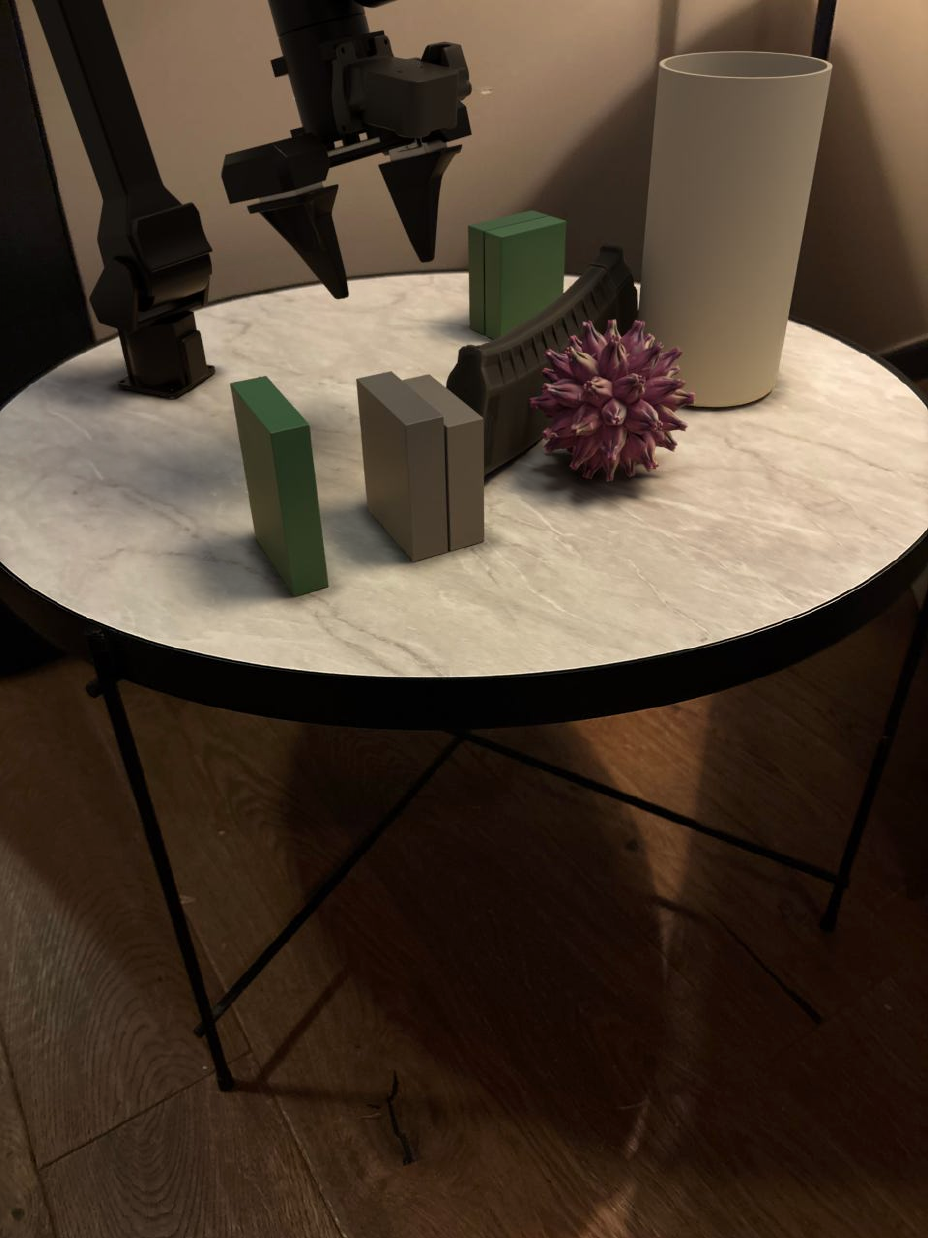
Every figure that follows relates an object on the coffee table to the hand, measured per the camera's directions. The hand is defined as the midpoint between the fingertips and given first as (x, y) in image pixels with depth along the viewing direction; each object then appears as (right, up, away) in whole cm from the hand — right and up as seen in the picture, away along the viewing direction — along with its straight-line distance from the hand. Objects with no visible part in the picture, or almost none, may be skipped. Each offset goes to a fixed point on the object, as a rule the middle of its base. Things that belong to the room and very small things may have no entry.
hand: (386, 279), depth 71 cm
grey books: (+3, -17, +1) cm, 17 cm away
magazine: (+12, -7, +14) cm, 20 cm away
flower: (+16, -12, +7) cm, 22 cm away
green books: (+11, +6, +31) cm, 33 cm away
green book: (-6, -20, -3) cm, 21 cm away
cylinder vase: (+27, -3, +20) cm, 33 cm away
